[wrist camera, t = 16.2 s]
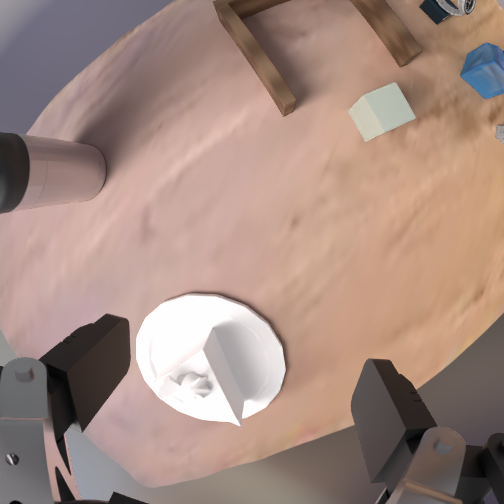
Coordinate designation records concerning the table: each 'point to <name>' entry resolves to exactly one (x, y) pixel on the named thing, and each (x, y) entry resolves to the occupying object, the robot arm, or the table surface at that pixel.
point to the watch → (446, 8)
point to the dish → (210, 357)
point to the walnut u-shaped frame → (230, 15)
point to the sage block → (381, 111)
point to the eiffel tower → (500, 133)
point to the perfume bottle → (485, 70)
